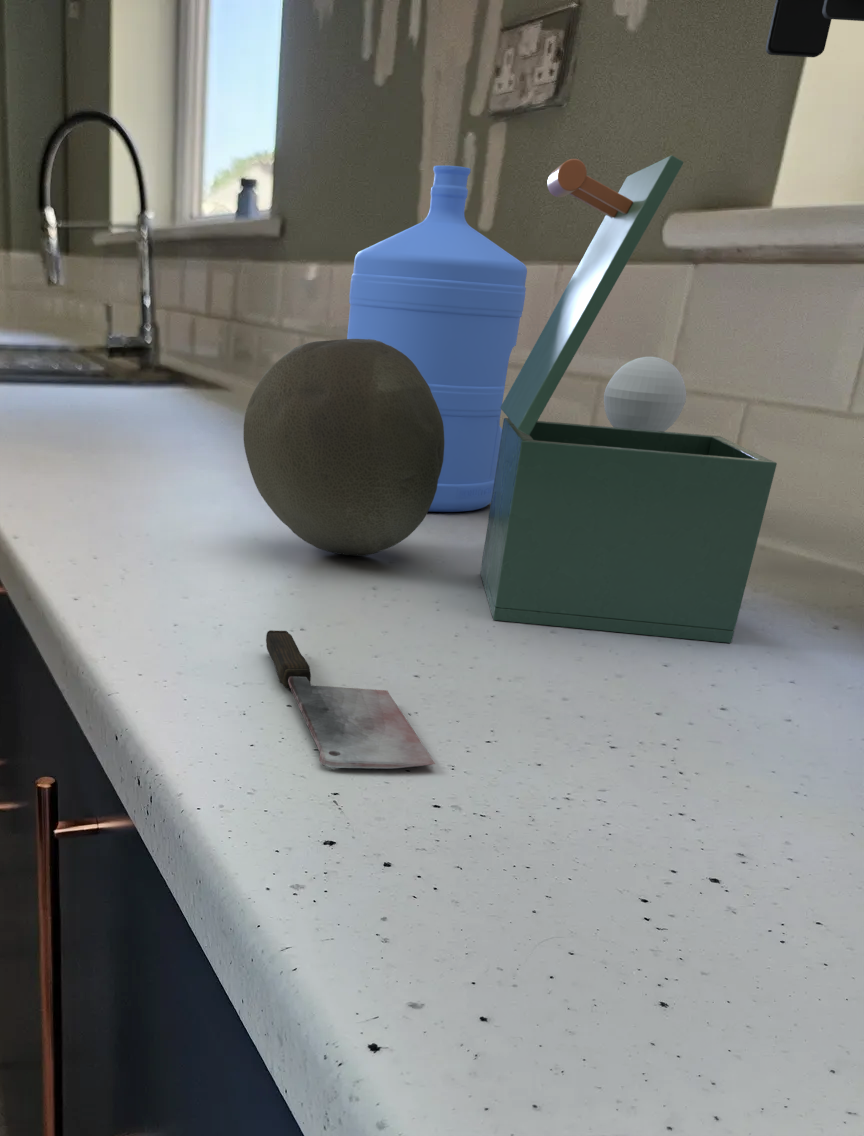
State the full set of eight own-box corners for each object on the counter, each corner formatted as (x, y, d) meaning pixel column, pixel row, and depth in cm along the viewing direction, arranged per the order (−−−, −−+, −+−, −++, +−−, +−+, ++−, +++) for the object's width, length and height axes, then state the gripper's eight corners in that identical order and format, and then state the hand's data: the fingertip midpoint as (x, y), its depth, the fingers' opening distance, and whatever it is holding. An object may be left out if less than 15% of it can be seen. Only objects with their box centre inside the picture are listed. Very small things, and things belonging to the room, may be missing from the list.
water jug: (421, 520, 99) (468, 155, 87) (297, 488, 109) (324, 158, 97) (525, 506, 109) (580, 177, 97) (403, 479, 119) (439, 177, 107)
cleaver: (439, 754, 47) (322, 753, 46) (435, 777, 47) (319, 777, 47) (354, 629, 61) (263, 627, 60) (351, 648, 62) (261, 646, 61)
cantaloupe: (345, 528, 93) (365, 332, 86) (469, 568, 83) (501, 350, 76) (203, 540, 85) (213, 326, 79) (320, 586, 75) (343, 344, 69)
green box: (684, 592, 81) (721, 436, 76) (731, 643, 69) (777, 462, 65) (480, 573, 82) (503, 417, 77) (493, 620, 70) (521, 440, 66)
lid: (638, 182, 70) (563, 139, 70) (684, 161, 59) (595, 111, 59) (510, 413, 77) (440, 376, 76) (529, 435, 65) (447, 392, 65)
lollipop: (604, 545, 94) (642, 353, 88) (665, 560, 90) (710, 361, 84) (559, 551, 91) (595, 352, 84) (621, 567, 87) (664, 360, 80)
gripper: (1104, -495, 46) (964, 7, 53) (925, -297, 62) (836, 70, 69) (915, -501, 47) (802, -3, 54) (785, -303, 62) (711, 62, 69)
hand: (821, 38), depth 61 cm, fingers open, 9 cm apart
